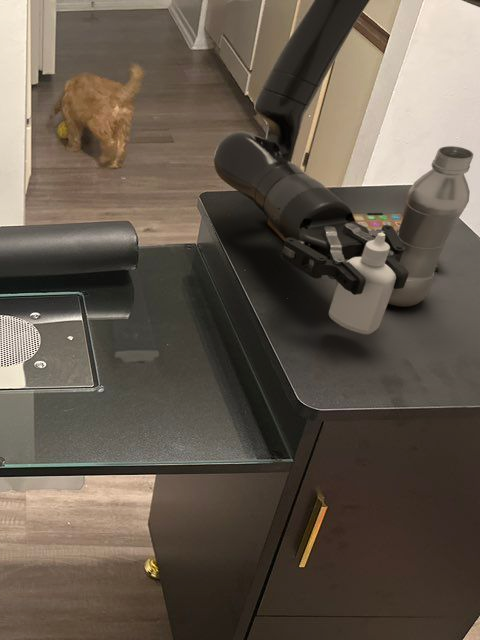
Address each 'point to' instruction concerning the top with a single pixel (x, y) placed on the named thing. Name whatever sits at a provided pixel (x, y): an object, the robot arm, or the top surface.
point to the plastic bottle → (431, 221)
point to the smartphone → (380, 222)
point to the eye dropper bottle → (366, 290)
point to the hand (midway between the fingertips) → (381, 284)
